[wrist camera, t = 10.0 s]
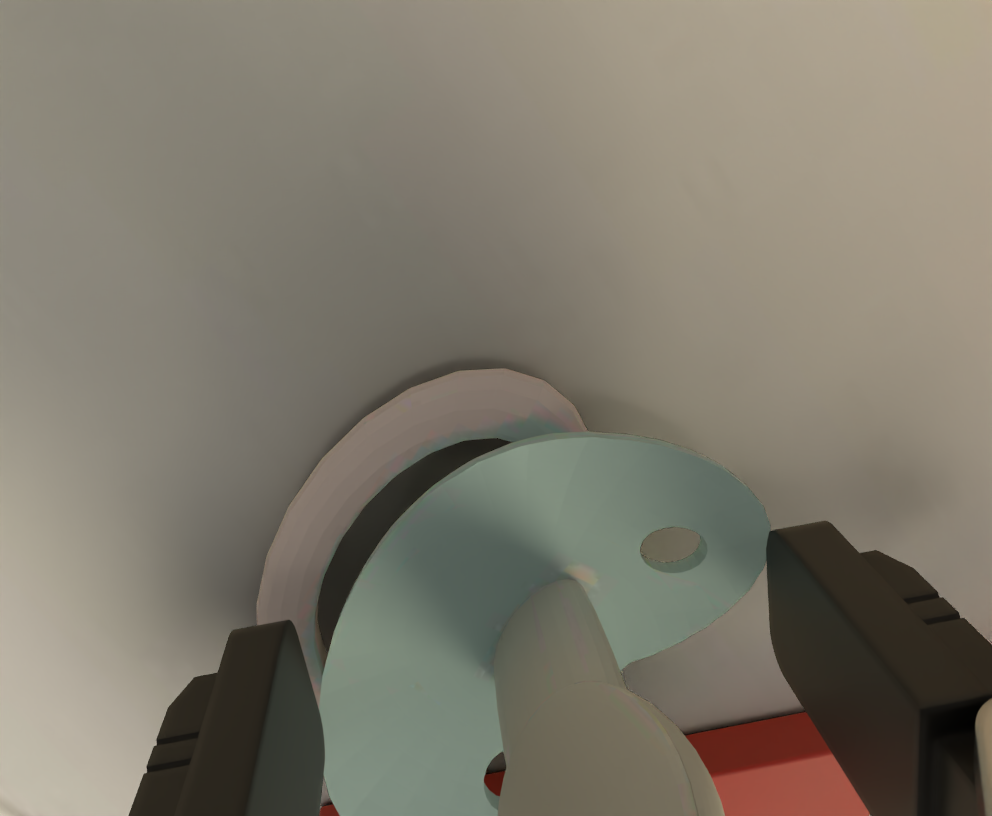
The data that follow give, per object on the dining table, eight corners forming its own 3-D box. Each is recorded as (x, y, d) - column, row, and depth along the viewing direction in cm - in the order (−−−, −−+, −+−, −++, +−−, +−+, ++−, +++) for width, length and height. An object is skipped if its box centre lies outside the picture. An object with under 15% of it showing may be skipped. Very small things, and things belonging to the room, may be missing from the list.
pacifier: (188, 675, 14) (520, 808, 15) (19, 1120, 8) (589, 1266, 9) (419, 263, 12) (771, 460, 13) (425, 437, 6) (1056, 756, 7)
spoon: (357, 935, 16) (354, 1001, 15) (297, 733, 14) (288, 790, 13) (1199, 766, 16) (1257, 817, 15) (1237, 553, 15) (1304, 592, 14)
